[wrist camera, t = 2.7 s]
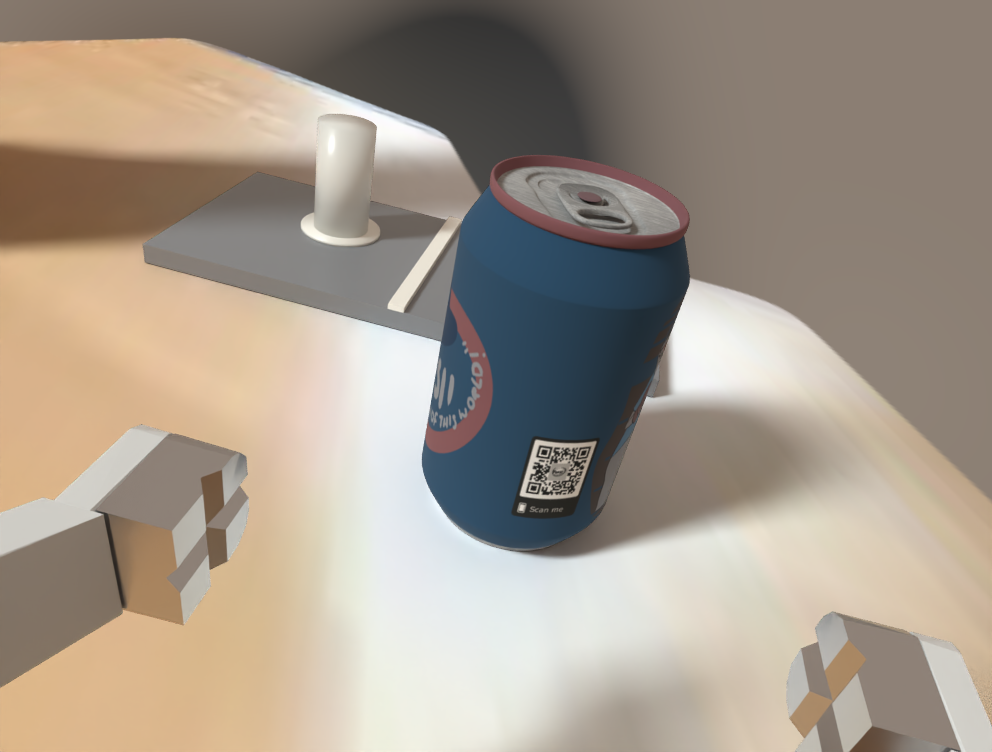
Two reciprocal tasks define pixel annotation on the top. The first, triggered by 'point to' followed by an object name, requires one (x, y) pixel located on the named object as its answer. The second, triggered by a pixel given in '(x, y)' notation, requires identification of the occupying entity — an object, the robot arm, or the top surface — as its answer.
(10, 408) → the top surface
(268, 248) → the board
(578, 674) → the top surface
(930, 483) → the top surface
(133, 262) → the top surface
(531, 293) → the soda can
